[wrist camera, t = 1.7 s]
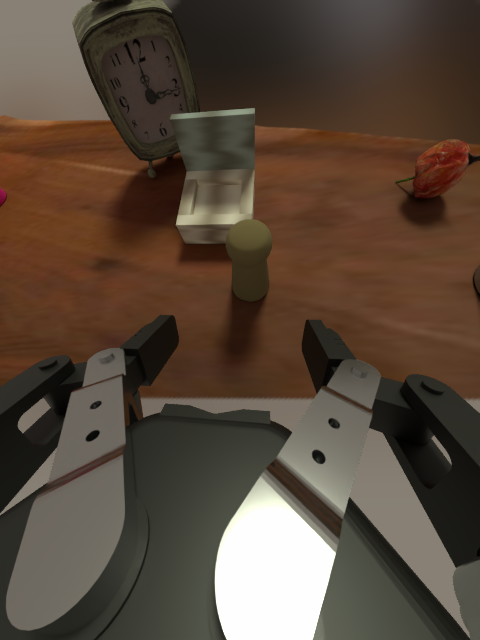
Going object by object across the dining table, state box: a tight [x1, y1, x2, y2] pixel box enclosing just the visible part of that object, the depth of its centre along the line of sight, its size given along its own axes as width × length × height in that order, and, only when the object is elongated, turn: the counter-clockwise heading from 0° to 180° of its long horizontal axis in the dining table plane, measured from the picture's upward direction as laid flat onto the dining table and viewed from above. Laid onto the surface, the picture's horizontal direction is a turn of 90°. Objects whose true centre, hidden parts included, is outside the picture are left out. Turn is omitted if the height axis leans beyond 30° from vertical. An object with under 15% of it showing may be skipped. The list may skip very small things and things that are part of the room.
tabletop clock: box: [73, 0, 200, 178], centre depth 28 cm, size 14×9×25 cm, turn 114°
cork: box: [226, 219, 272, 301], centre depth 24 cm, size 6×6×11 cm
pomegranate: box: [396, 140, 480, 198], centre depth 29 cm, size 7×7×10 cm
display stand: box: [170, 108, 255, 244], centre depth 29 cm, size 12×13×11 cm
